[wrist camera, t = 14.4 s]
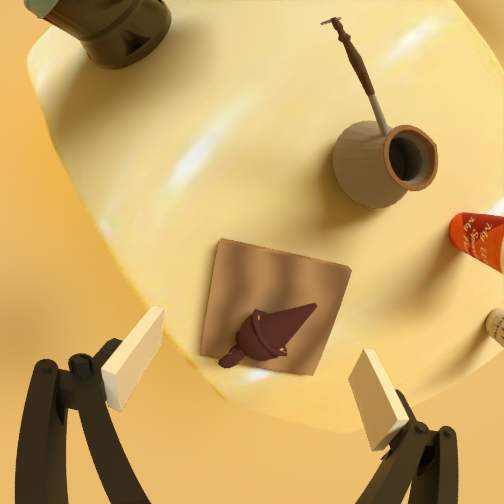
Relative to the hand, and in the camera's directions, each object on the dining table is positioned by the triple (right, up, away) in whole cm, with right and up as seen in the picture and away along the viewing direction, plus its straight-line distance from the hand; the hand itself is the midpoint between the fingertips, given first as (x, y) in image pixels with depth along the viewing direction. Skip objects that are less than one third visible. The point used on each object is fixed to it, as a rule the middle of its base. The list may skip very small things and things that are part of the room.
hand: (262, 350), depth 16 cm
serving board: (+2, -2, +23) cm, 23 cm away
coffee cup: (+33, +10, +18) cm, 39 cm away
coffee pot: (+13, +22, +17) cm, 30 cm away
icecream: (+2, -4, +21) cm, 22 cm away
